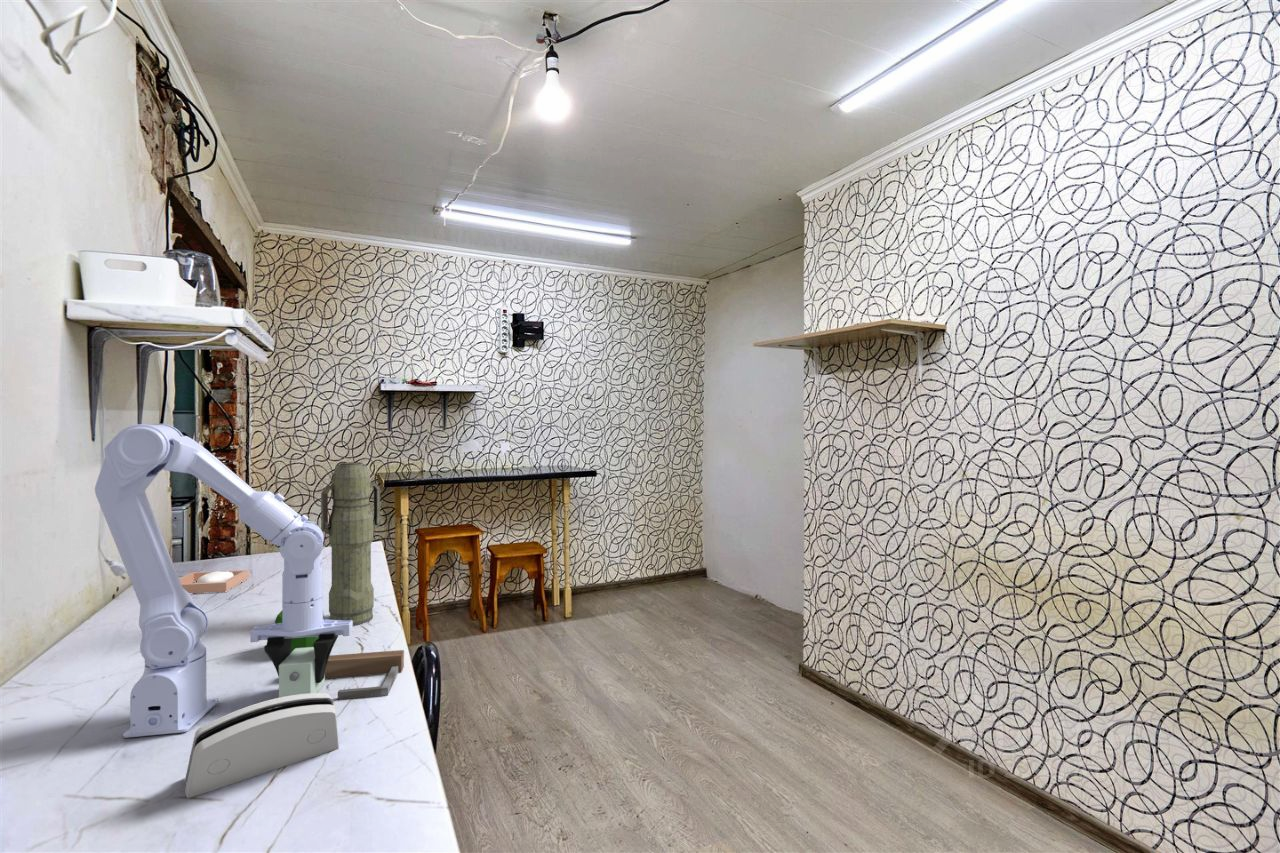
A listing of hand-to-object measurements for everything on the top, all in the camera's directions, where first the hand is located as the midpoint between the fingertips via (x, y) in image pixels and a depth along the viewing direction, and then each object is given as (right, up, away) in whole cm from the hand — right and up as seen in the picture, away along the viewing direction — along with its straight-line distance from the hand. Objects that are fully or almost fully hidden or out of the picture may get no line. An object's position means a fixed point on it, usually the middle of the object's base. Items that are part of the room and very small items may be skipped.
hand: (302, 681), depth 94 cm
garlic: (-59, -2, +61) cm, 85 cm away
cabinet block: (0, -2, 0) cm, 2 cm away
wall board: (+4, -2, +4) cm, 6 cm away
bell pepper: (-11, -2, +18) cm, 21 cm away
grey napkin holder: (+7, -3, -20) cm, 21 cm away
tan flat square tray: (-60, -1, +60) cm, 85 cm away
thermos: (-9, -2, +35) cm, 36 cm away
